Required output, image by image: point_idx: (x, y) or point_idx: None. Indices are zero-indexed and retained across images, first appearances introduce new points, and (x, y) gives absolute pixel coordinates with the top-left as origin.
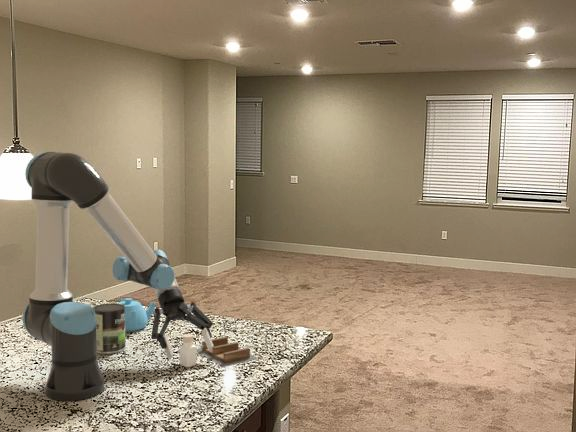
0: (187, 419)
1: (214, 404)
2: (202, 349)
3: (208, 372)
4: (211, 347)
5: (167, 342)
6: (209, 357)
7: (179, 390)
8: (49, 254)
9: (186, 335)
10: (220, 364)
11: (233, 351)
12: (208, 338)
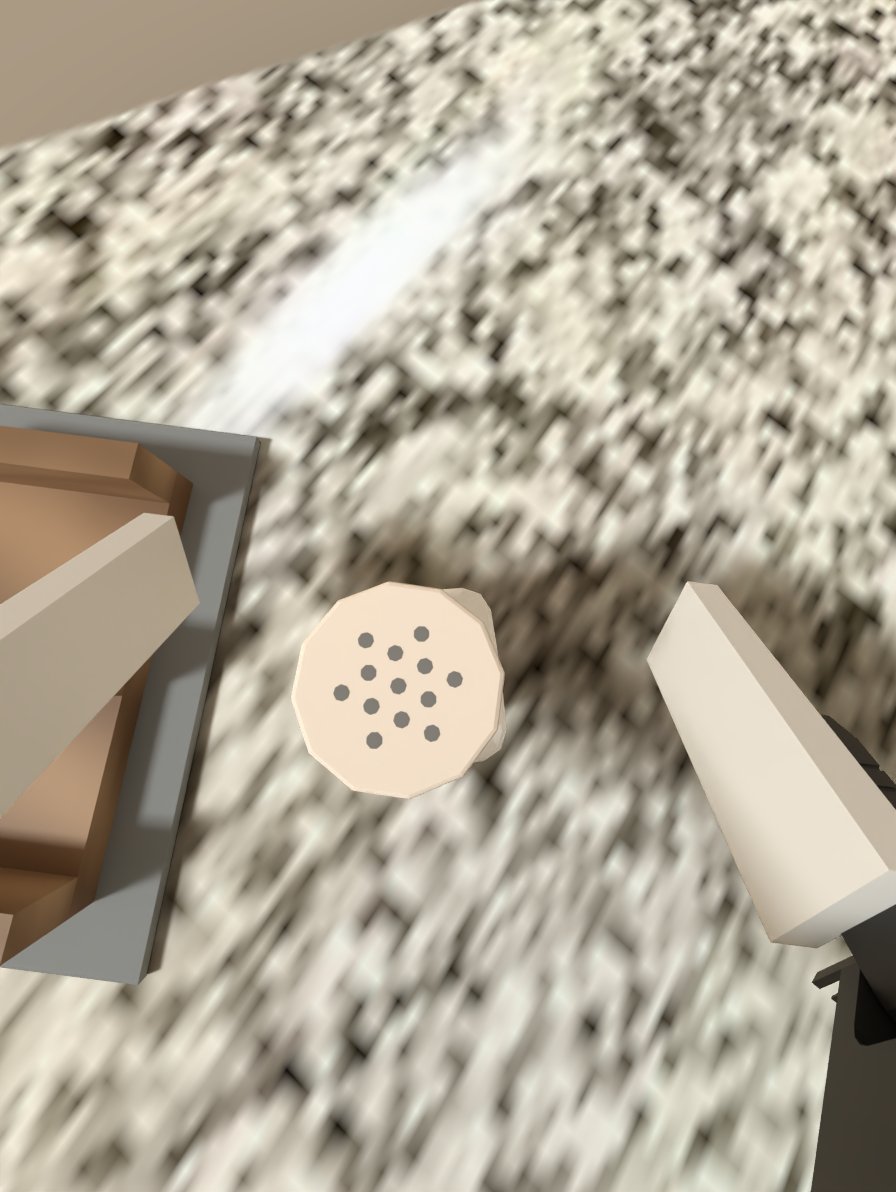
0: (863, 47)
1: (662, 82)
2: (86, 900)
3: (395, 452)
4: (172, 543)
5: (813, 720)
6: (184, 684)
7: (724, 337)
8: None
9: (420, 704)
10: (236, 491)
11: (28, 447)
12: (89, 574)
